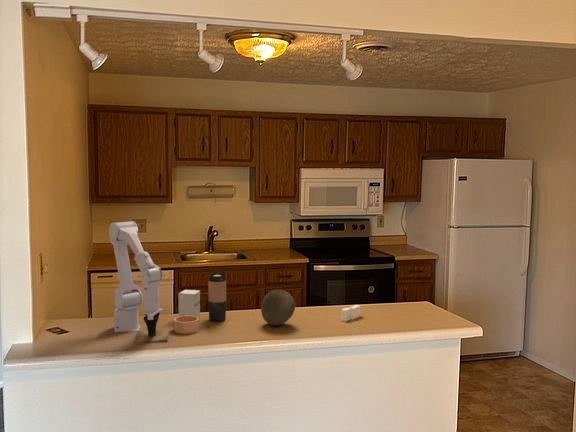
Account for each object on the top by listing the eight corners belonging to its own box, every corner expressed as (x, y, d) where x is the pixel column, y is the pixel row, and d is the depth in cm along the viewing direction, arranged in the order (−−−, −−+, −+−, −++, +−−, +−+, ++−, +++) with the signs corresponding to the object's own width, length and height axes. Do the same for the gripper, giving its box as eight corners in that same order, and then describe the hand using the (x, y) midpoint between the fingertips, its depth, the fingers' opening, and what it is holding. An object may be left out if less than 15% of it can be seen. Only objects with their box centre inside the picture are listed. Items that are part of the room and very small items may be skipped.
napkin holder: (359, 314, 247) (360, 302, 247) (370, 321, 236) (370, 309, 236) (329, 316, 243) (329, 304, 243) (338, 324, 232) (338, 311, 232)
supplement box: (194, 323, 229) (194, 294, 228) (178, 322, 231) (177, 293, 230) (200, 318, 237) (200, 290, 235) (184, 317, 238) (184, 289, 237)
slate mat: (133, 345, 201) (132, 343, 201) (136, 334, 214) (136, 332, 214) (168, 343, 204) (168, 342, 204) (170, 332, 216) (170, 331, 216)
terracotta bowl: (173, 335, 213) (173, 323, 213) (174, 327, 223) (174, 315, 223) (199, 334, 215) (199, 322, 214) (199, 326, 225) (198, 314, 224)
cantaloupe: (266, 331, 219) (266, 295, 218) (257, 321, 233) (257, 287, 231) (299, 328, 224) (299, 293, 222) (288, 319, 237) (288, 285, 236)
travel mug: (229, 319, 236) (229, 274, 234) (218, 323, 230) (218, 277, 228) (216, 316, 240) (216, 272, 238) (204, 320, 234) (204, 275, 232)
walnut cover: (134, 343, 202) (134, 333, 202) (137, 333, 214) (137, 323, 213) (167, 341, 204) (167, 332, 204) (168, 331, 216) (168, 322, 215)
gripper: (161, 303, 201) (161, 338, 202) (163, 293, 215) (163, 326, 216) (141, 303, 200) (142, 339, 201) (145, 294, 214) (145, 327, 215)
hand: (152, 332), depth 209 cm, fingers open, 3 cm apart
